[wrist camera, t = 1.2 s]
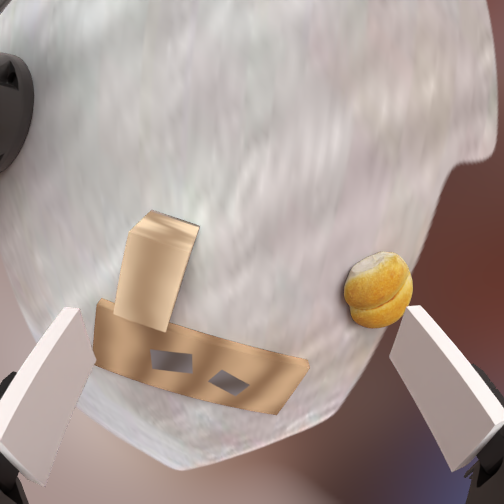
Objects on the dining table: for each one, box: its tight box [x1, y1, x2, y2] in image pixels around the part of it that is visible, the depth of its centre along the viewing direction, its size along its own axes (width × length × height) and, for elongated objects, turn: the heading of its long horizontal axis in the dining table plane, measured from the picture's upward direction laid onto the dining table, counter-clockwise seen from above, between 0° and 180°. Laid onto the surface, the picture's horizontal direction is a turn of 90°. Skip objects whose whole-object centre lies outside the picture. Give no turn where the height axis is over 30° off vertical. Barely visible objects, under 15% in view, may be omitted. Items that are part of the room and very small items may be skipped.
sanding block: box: [113, 210, 200, 332], centre depth 27 cm, size 5×8×7 cm, turn 159°
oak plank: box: [93, 298, 310, 415], centre depth 35 cm, size 26×10×2 cm, turn 69°
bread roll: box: [344, 252, 413, 328], centre depth 31 cm, size 8×9×4 cm
